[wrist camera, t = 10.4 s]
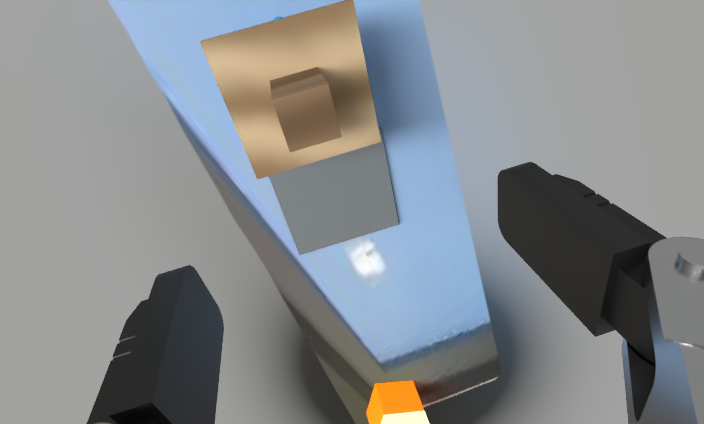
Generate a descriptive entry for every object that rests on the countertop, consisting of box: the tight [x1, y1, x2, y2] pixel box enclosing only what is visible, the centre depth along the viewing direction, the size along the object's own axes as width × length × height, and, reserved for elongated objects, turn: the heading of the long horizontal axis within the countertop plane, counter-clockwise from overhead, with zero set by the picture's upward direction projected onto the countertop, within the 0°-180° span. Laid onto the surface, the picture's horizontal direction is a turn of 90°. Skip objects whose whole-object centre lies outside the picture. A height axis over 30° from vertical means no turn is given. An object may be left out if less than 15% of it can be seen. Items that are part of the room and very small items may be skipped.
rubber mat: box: [269, 127, 399, 255], centre depth 48 cm, size 14×14×1 cm
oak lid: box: [200, 0, 381, 179], centre depth 30 cm, size 12×12×7 cm
